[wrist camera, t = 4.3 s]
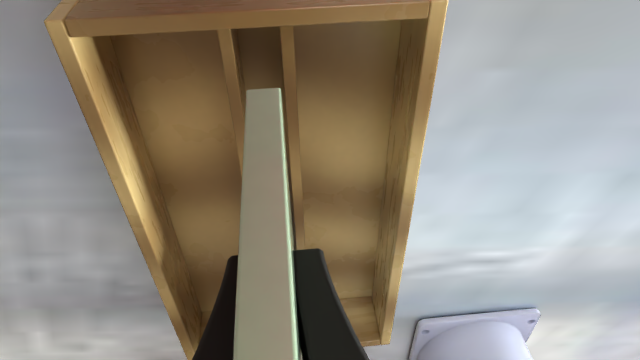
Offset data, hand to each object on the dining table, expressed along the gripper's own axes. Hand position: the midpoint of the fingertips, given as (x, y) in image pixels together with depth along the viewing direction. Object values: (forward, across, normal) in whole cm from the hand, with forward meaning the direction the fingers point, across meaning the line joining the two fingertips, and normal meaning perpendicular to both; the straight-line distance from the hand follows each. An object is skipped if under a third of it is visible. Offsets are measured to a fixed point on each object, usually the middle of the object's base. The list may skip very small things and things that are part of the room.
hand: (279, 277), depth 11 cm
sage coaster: (+2, 0, 0) cm, 2 cm away
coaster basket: (+8, 0, +5) cm, 10 cm away
